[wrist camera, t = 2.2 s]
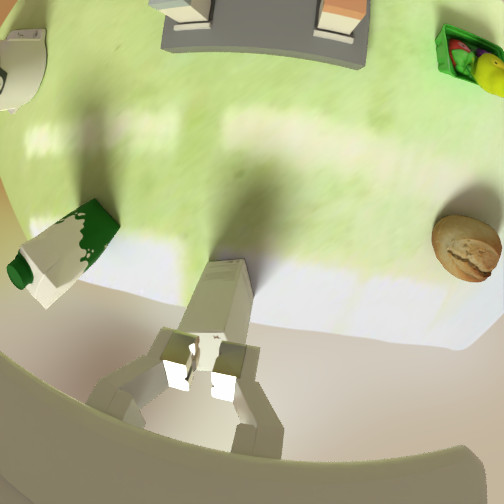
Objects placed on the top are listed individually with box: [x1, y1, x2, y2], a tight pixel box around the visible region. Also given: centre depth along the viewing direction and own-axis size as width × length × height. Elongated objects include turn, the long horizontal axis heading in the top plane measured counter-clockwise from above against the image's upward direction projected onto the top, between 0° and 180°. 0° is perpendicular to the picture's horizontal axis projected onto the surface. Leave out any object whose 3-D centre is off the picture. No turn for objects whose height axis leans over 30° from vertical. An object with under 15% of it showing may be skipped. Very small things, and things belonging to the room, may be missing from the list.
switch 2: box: [318, 0, 367, 35], centre depth 17 cm, size 4×3×8 cm
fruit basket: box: [435, 24, 504, 97], centre depth 17 cm, size 11×9×11 cm
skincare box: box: [177, 259, 254, 371], centre depth 38 cm, size 8×7×16 cm
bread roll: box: [432, 215, 502, 282], centre depth 32 cm, size 10×15×8 cm, turn 83°
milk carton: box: [7, 198, 120, 309], centre depth 35 cm, size 9×9×20 cm
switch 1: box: [148, 0, 211, 23], centre depth 18 cm, size 4×3×8 cm
